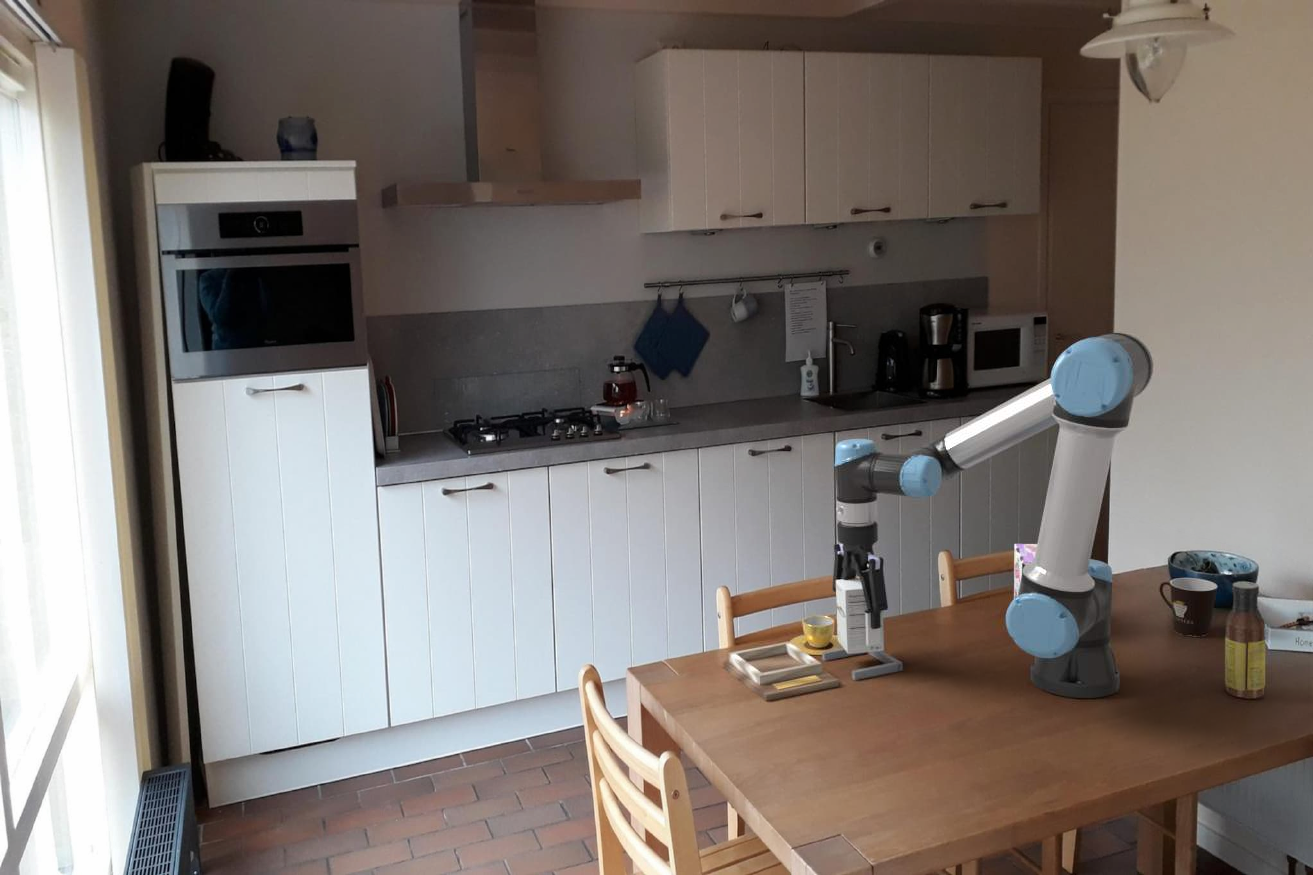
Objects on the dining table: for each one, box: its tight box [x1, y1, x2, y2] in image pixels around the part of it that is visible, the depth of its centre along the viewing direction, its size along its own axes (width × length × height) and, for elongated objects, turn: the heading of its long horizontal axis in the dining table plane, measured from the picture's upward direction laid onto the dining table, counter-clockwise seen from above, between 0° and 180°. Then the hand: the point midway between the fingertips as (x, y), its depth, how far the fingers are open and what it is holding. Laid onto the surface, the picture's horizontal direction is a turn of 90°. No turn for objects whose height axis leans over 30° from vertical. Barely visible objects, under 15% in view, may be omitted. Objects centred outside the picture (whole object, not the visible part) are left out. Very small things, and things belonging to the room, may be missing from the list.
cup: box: [788, 615, 843, 656], centre depth 228 cm, size 12×12×5 cm
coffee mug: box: [1158, 577, 1218, 636], centre depth 229 cm, size 12×9×10 cm
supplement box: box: [835, 577, 885, 654], centre depth 215 cm, size 7×7×13 cm
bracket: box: [821, 648, 904, 681], centre depth 217 cm, size 12×10×2 cm
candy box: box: [1013, 543, 1037, 599], centre depth 232 cm, size 14×6×16 cm, turn 169°
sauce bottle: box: [1224, 580, 1266, 700], centre depth 196 cm, size 7×6×20 cm
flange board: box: [722, 641, 840, 702], centre depth 213 cm, size 18×15×3 cm
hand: (860, 636), depth 216 cm, fingers closed on supplement box, 8 cm apart
